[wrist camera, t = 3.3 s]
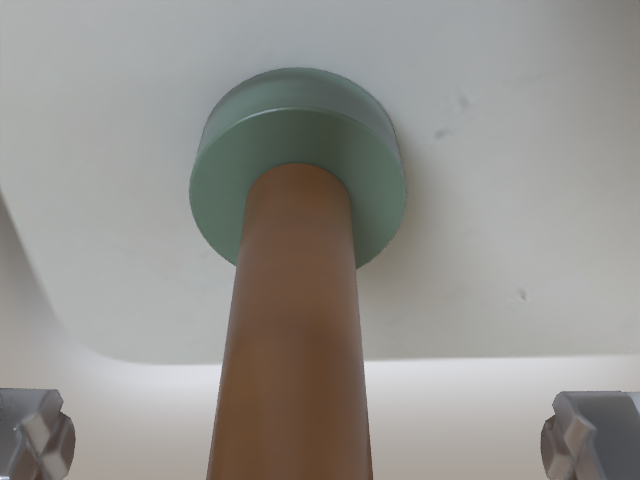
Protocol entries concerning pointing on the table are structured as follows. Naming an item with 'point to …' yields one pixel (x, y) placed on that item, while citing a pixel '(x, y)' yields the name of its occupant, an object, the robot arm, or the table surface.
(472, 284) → the table surface
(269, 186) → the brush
